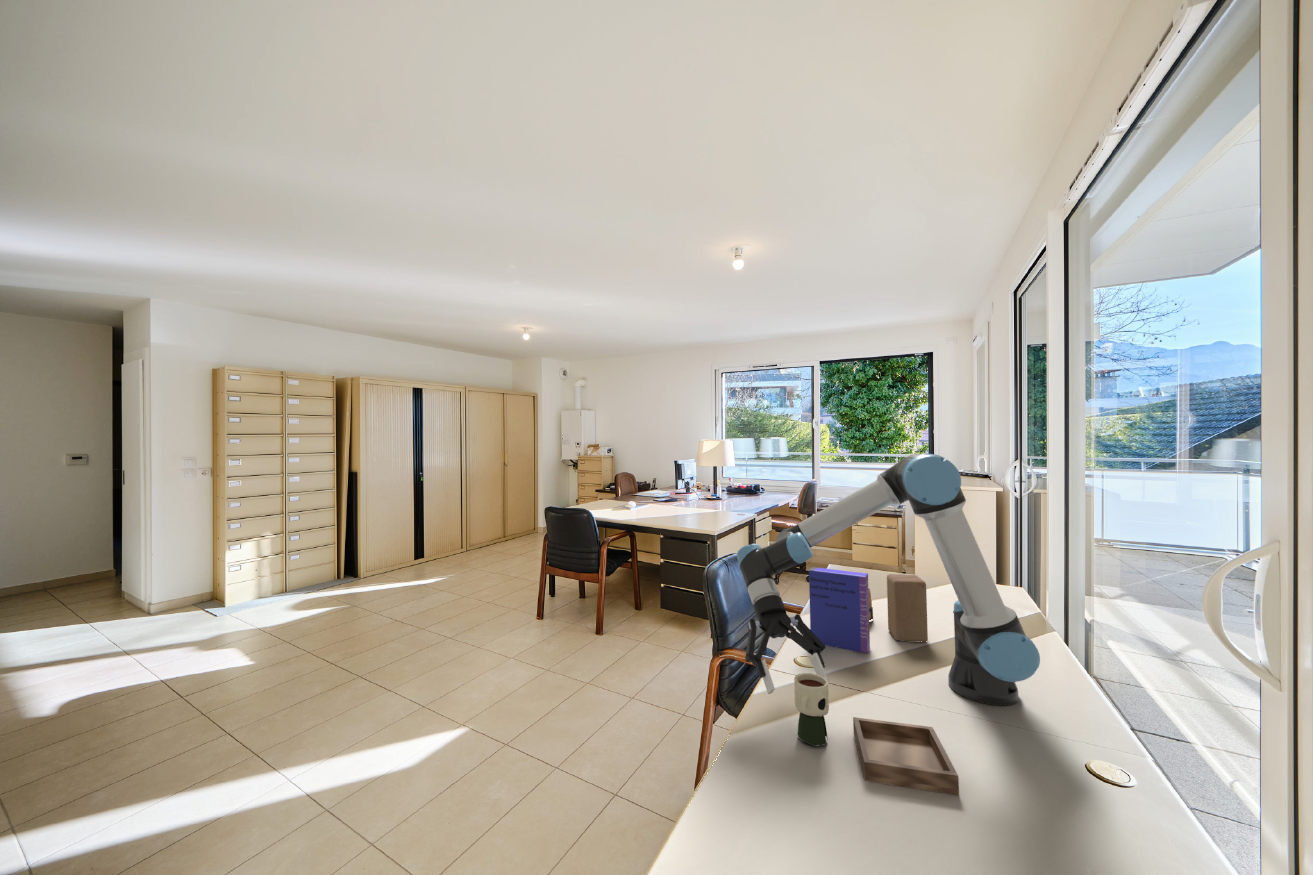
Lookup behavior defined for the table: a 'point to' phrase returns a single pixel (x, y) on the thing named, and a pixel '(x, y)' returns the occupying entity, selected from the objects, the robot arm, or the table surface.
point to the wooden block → (907, 607)
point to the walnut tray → (904, 756)
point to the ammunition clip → (870, 606)
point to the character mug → (811, 707)
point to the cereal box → (840, 608)
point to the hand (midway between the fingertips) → (798, 687)
